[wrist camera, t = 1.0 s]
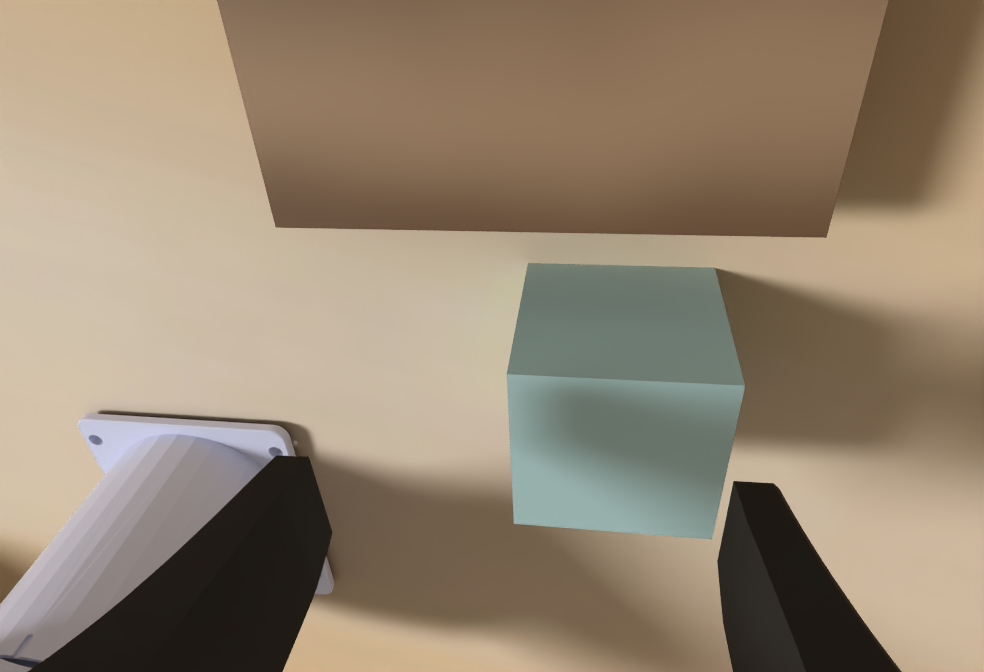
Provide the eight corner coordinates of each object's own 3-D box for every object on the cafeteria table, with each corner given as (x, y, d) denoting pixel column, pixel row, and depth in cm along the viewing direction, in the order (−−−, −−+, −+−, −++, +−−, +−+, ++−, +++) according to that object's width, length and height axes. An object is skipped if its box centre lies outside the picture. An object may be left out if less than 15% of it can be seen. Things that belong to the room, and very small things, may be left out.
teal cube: (691, 407, 21) (712, 539, 17) (531, 398, 22) (513, 523, 18) (714, 266, 18) (745, 385, 14) (528, 261, 19) (506, 374, 15)
